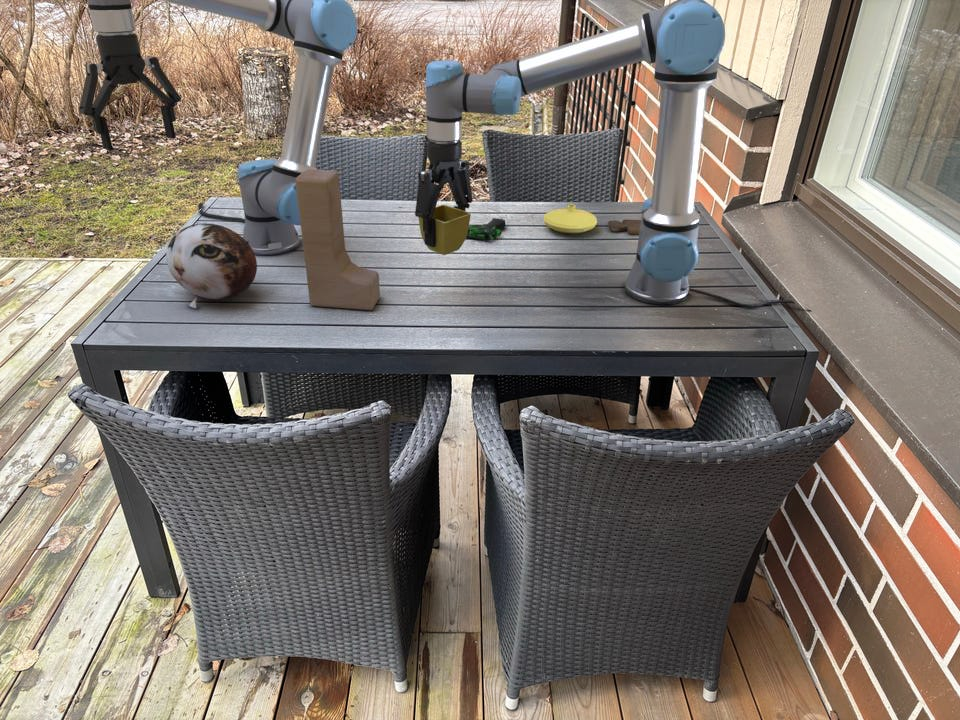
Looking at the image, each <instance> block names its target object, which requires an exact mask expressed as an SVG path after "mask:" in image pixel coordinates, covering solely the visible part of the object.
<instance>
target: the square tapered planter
mask: <svg viewBox="0 0 960 720" xmlns="http://www.w3.org/2000/svg"><path fill="white" fill-rule="evenodd" d="M427 213H428V211H427ZM471 215H472V214H471V212H468V211H463V210H460V209H457V208H454V206H450V205H447V204H440V205H436V208H435V211H434V214H433V217H432V218H435V232H436V247H431V246H428V245H425V246H426V247H427V249H428V250H429V251H432V252H435V253H437V254H439V255H442V256H447V255H449V254H453V253H454V252H457V251H459V250H460V249H461V247H463V245H464V243H465V241H466V239H467V238H468V237H467V234H468V228H469V226H470V222H471ZM417 218H418V224H419V231H420V235H421V239H422V240H423V242H424V243H425V232H423V219H422V218H420V217H417Z"/></svg>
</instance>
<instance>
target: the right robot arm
mask: <svg viewBox="0 0 960 720" xmlns="http://www.w3.org/2000/svg"><path fill="white" fill-rule="evenodd" d="M725 42H726V28H725V23H724V20H723V17H722V16H721V14H720V13H719V11H718V10H717V9H716V8H715V7H714V6H713V5H711V4H710V3H708V1H706V0H675V1H672V2H670V3H667V4H666V5H664V6H662V7H659V8H657V9H655V10H652V11H649V12H646V13H643V14H640V16H639V17H638V19H637V21H635V22H632V23H629V24H626V25H623V26H620V27H616V28H613V29H610V30H607V31H604V32H600V33H597V34H593V35H590V36H587V37H584V38H582V39H578V40H575V41H572V42H568V43H565V44H563V45H562V44H561V45H558V46H556V47H552V48H550V49H547V50H544V51H540V52H537V53H533V54H531V55H527V56H524V57H521V58H518V59H515V60H512V61H509V62H500V63H497V64H494V65H493V66H492V67H491V68H490V69H489V70H488V71H487V73H485V74H484V73H483V74H482V73H468V72H464V69H463V64H462V63H461V62H459V61H455V60H454V61H453V60H446V59H445V60H433V61H431V62H429V63H428V64H427V65H426V68H425V70H426V71H425V85H424V88H425V103H426V104H425V107H426V110H425V111H426V116H425V117H426V138H427V139H428V140H427V141H426V158H427V159H428V161H429V165H428V168H427V169H426V170H419V171H418V173H417V175H418V187H417V195H416V202H415V203H416V204H415V212H414V216H415V217H417V218H418V217H420V218H422V219H423V232H425V242H424V245H425V246H426V245H428V246H431V247H436V232H435V218H432V217H433V214H434V211H435V208H436V207H437V204H438V202H439V201H438V200H439V197H440V194H441V191H443V190H444V188H445V185H448V187H449V190H450V193H451V194H452V196H453V199H454V202H455V204H456V205H454V206H453V207H454V208H457V209H460V210H463V211H466V210H467V209H469V208H470V207H471V206H470V205H471V203H473V193H472V186H471V179H470V172H469V171H470V162H469V161H468V160H464V159H462V156H463V142H462V139H463V113H468V114H469V113H470V114H483V115H485V114H486V115H496V116H497V115H498V116H500V117H502V116H515V115H517V114H518V112H519V111H520V107H521V101H522V97H526V96H528V95H530V94H535V93H538V92H541V91H544V90H548V89H551V88H556V87H558V86H562V85H565V84H568V83H573V82H575V81H578V80H582V79H585V78H589V77H592V76H595V75H600V74H602V73H606V72H610V71H613V70H616V69H620V68H624V67H627V66H629V65H633V64H638V63H640V62H645V63H648V64H649V65H652V64H654V63H655V64H654V76H653V77H654V78H653V80H654V81H655V82H656V84H657V85H658V86H659V87H660V98H659V99H660V100H659V113H658V123H657V124H658V125H657V133H656V134H657V136H656V147H655V158H654V159H655V160H654V169H653V170H654V171H653V184H652V196H651V197H649V198H647V199H645V200H644V201H643V204H642V208H641V219H640V220H641V225H640V232H639V234H638V239H637V247H636V253H635V255H636V256H635V260H634V262H633V264H632V266H631V268H630V270H629V272H628V274H627V276H626V278H625V281H624V287H623V288H624V292H625V293H626V294H627V295H628V296H629V297H630V298H632V299H633V300H636V301H639V302H641V303H647V304H651V305H659V306H660V305H662V306H666V305H667V306H668V305H676V304H679V303H682V302H684V301H685V300H687V298H688V297H689V292H692V293H695V294H699V295H703V296H706V297H707V296H708V297H711V298H715V299H718V300H721V301H724V302H727V303H728V304H729V303H730V304H731V305H734V306H737V307H743V308H757V307H761V306H764V305H769V304H794V305H796V304H795V303H794V302H793V301H792V299H791V300H790V299H781V300H780V299H779V300H778V299H769V300H764V301H761V302H758V303H752V304H751V303H741V302H737V301H735V300H732V299H729V298H728V297H727V298H726V297H724V296H721V295H718V294H715V293H712V292H711V293H710V292H707V291H703V290H699V289H696V288H692V287H690V285H689V279H688V276H689V275H690V274H691V273H692V272H693V271H694V269H695V268H696V267H697V266H696V265H697V263H698V259H699V256H700V255H699V249H698V238H699V229H700V220H701V216H700V214H699V213H698V212H697V211H696V206H695V205H696V204H695V198H696V189H697V179H698V171H699V163H700V154H701V146H702V138H703V128H704V120H705V111H706V101H707V93H708V89H709V88H710V86H711V85H713V83H715V82H716V81H717V78H718V70H719V64H720V63H719V62H720V55H721V53H722V51H723V48H724V46H725ZM427 211H428V213H427ZM466 212H467V211H466Z"/></svg>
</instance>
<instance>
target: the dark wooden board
mask: <svg viewBox="0 0 960 720" xmlns="http://www.w3.org/2000/svg"><path fill="white" fill-rule="evenodd" d="M607 224H608V229H609V231H610V232H613V233H615V232H616V233H617V232H623V231H627V234H629V235H639V232H640V225H641V219H623V220H622V222H621V221H619V220H615V219H614V220H608V221H607Z"/></svg>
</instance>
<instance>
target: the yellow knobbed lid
mask: <svg viewBox="0 0 960 720" xmlns="http://www.w3.org/2000/svg"><path fill="white" fill-rule="evenodd" d="M543 222H544V225H545V226H546V227H548V228H550V229H551V230H554V231H556V232H559V233H564V234H580V233H584V232H585V233H586V232H587V231H591V230H592V229H594V228H596V226H597V223H598V219H597V217H596V215H595V214H593V213H591V212H589V211H587V210H584V209H578V208H576V205H575V204H571V203H570V204H567V208H557V209H552V210H549V211H548V212H547V213H545V214H544V216H543Z"/></svg>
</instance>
